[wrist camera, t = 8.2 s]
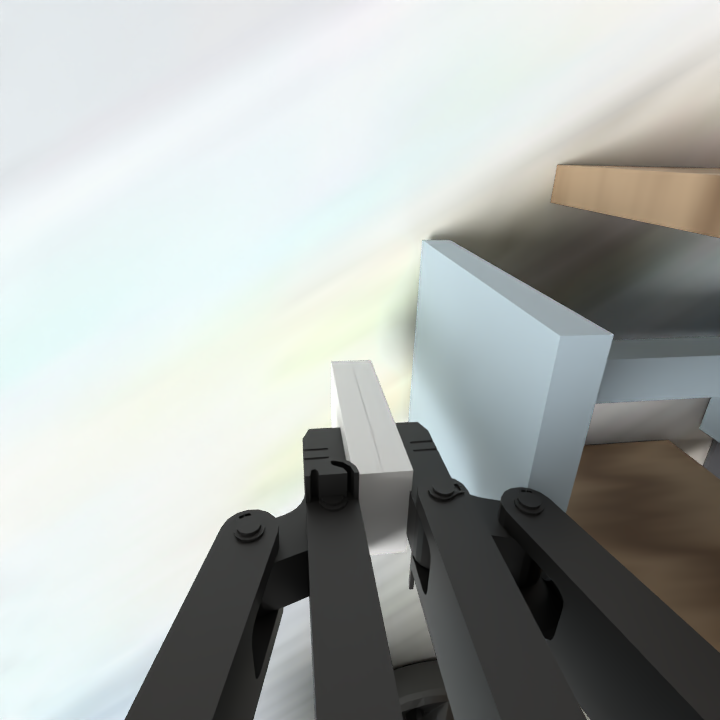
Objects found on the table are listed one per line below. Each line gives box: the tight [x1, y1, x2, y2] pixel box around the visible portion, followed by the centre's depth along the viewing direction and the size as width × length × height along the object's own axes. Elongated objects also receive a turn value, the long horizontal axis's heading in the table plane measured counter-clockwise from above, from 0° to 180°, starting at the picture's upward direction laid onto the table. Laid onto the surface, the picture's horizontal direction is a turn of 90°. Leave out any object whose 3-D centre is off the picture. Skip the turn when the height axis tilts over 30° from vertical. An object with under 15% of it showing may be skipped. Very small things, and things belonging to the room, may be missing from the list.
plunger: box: [408, 240, 720, 513], centre depth 18 cm, size 18×11×11 cm, turn 89°
